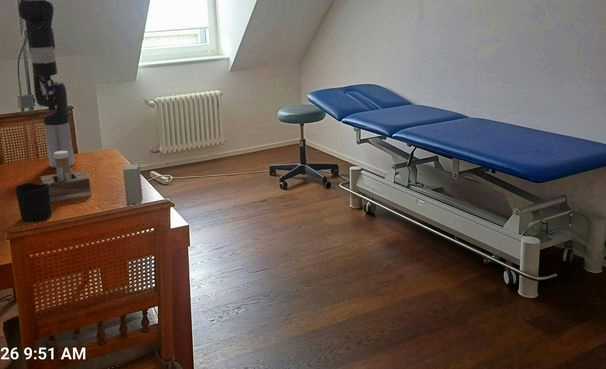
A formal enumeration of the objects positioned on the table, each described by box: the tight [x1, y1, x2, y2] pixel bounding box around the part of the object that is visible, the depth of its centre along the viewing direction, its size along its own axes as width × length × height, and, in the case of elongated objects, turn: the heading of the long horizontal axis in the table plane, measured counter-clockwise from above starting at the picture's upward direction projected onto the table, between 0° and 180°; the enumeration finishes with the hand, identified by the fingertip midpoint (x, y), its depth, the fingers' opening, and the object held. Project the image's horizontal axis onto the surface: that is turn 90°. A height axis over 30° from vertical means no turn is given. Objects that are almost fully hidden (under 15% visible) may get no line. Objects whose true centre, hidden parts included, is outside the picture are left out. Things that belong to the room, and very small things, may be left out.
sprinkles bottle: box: [54, 151, 72, 181], centre depth 215 cm, size 5×5×13 cm
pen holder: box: [14, 182, 52, 223], centre depth 194 cm, size 9×9×10 cm
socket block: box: [39, 170, 92, 203], centre depth 216 cm, size 12×14×6 cm
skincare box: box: [122, 163, 143, 206], centre depth 206 cm, size 6×4×12 cm
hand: (50, 108), depth 218 cm, fingers open, 8 cm apart
